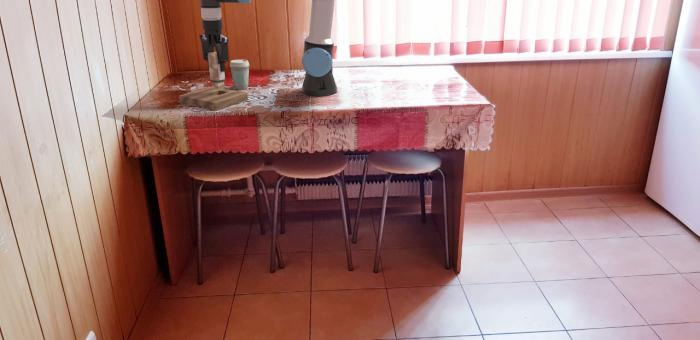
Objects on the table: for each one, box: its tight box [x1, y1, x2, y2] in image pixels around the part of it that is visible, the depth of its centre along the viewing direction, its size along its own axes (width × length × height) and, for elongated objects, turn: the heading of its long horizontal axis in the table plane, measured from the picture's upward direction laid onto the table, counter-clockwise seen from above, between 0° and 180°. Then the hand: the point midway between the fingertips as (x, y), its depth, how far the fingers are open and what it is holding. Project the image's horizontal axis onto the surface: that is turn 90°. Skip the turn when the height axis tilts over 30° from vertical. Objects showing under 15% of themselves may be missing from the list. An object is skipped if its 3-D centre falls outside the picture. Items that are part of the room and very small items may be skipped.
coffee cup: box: [229, 59, 250, 91], centre depth 227 cm, size 9×8×12 cm
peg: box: [208, 51, 226, 89], centre depth 206 cm, size 4×4×14 cm
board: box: [178, 86, 249, 112], centre depth 208 cm, size 20×18×3 cm
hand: (217, 78), depth 207 cm, fingers closed on peg, 4 cm apart
